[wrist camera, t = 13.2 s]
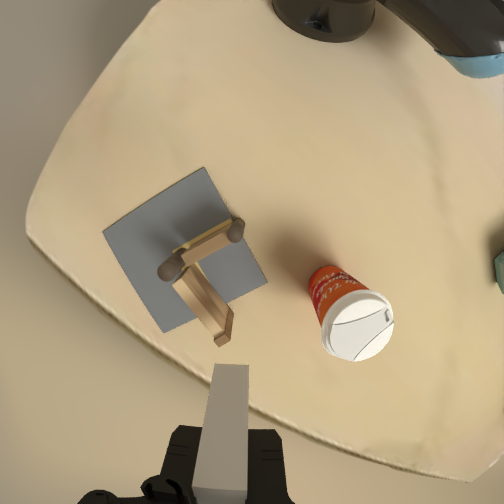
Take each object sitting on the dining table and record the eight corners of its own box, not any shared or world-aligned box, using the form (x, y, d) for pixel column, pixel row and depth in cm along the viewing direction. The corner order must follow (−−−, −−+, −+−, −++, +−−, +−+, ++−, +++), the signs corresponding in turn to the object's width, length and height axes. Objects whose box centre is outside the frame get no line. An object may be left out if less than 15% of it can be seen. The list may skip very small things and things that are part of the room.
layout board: (103, 232, 37) (102, 232, 37) (204, 167, 36) (204, 167, 35) (164, 332, 41) (163, 333, 40) (267, 281, 39) (267, 282, 38)
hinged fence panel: (184, 268, 38) (169, 287, 30) (194, 261, 38) (180, 279, 30) (224, 319, 39) (218, 347, 32) (233, 313, 39) (230, 340, 32)
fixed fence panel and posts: (173, 251, 38) (153, 268, 30) (240, 214, 37) (237, 222, 29) (181, 264, 38) (163, 284, 30) (247, 228, 37) (246, 239, 29)
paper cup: (339, 247, 38) (383, 278, 24) (362, 292, 39) (406, 338, 26) (289, 277, 39) (308, 323, 25) (315, 320, 40) (341, 378, 26)
